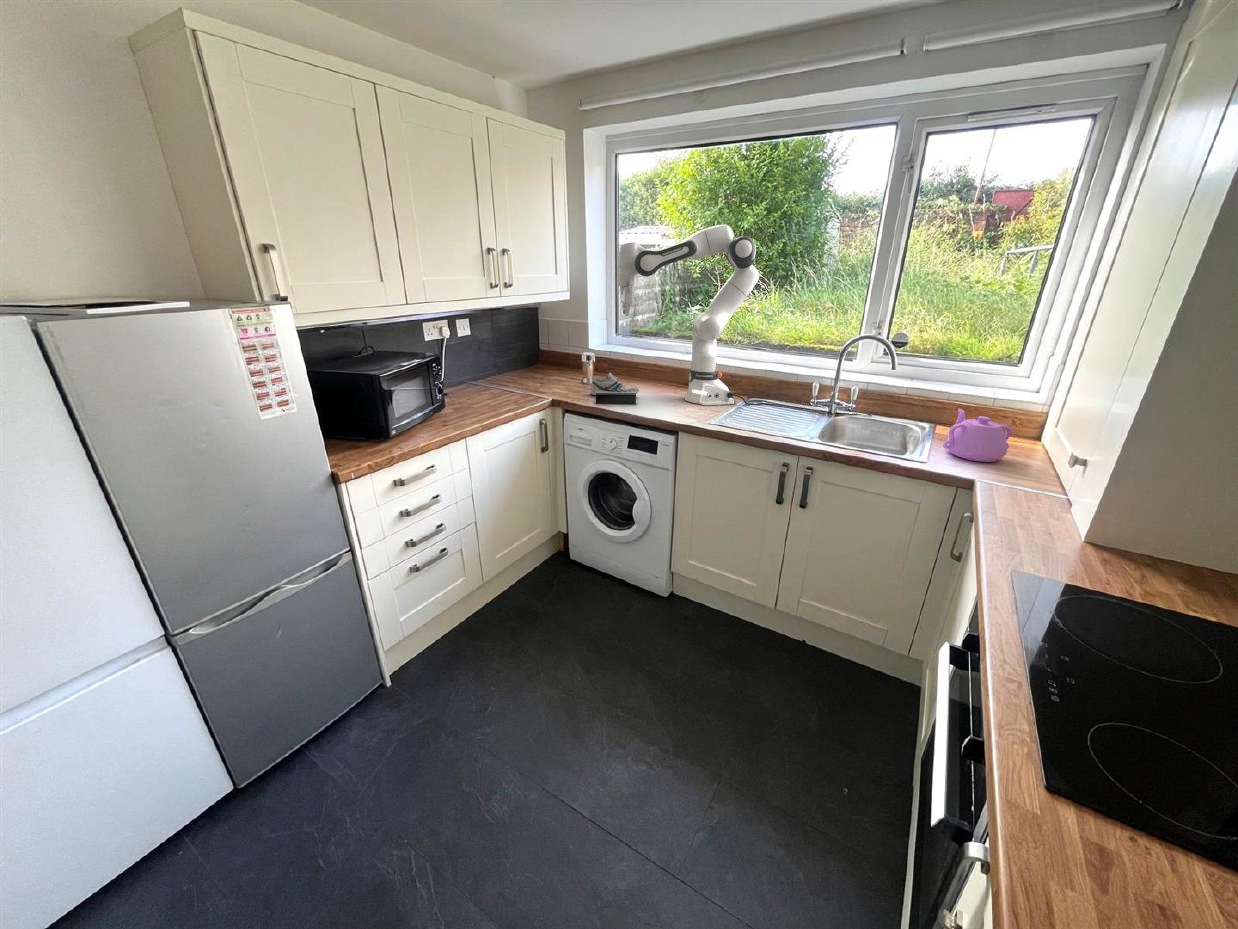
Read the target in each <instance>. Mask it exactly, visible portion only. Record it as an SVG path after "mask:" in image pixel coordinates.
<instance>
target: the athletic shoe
mask: <svg viewBox="0 0 1238 929" xmlns="http://www.w3.org/2000/svg"><path fill="white" fill-rule="evenodd" d="M639 391H640V389H639V387H638V386H637V385H633V386H627V385H626V384H623V383H622V382H621V381H620V380H619V377H618V376H614V375H613V373H612V372H608V373H607V374H606V378H602V379H601V378H600V377H599V376H598V375H595V376H593V379H592V383H591V384H590V388H589V394H590V395H591V396H594V397H596V392H636V395H637V394H638V393H639Z"/></svg>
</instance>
